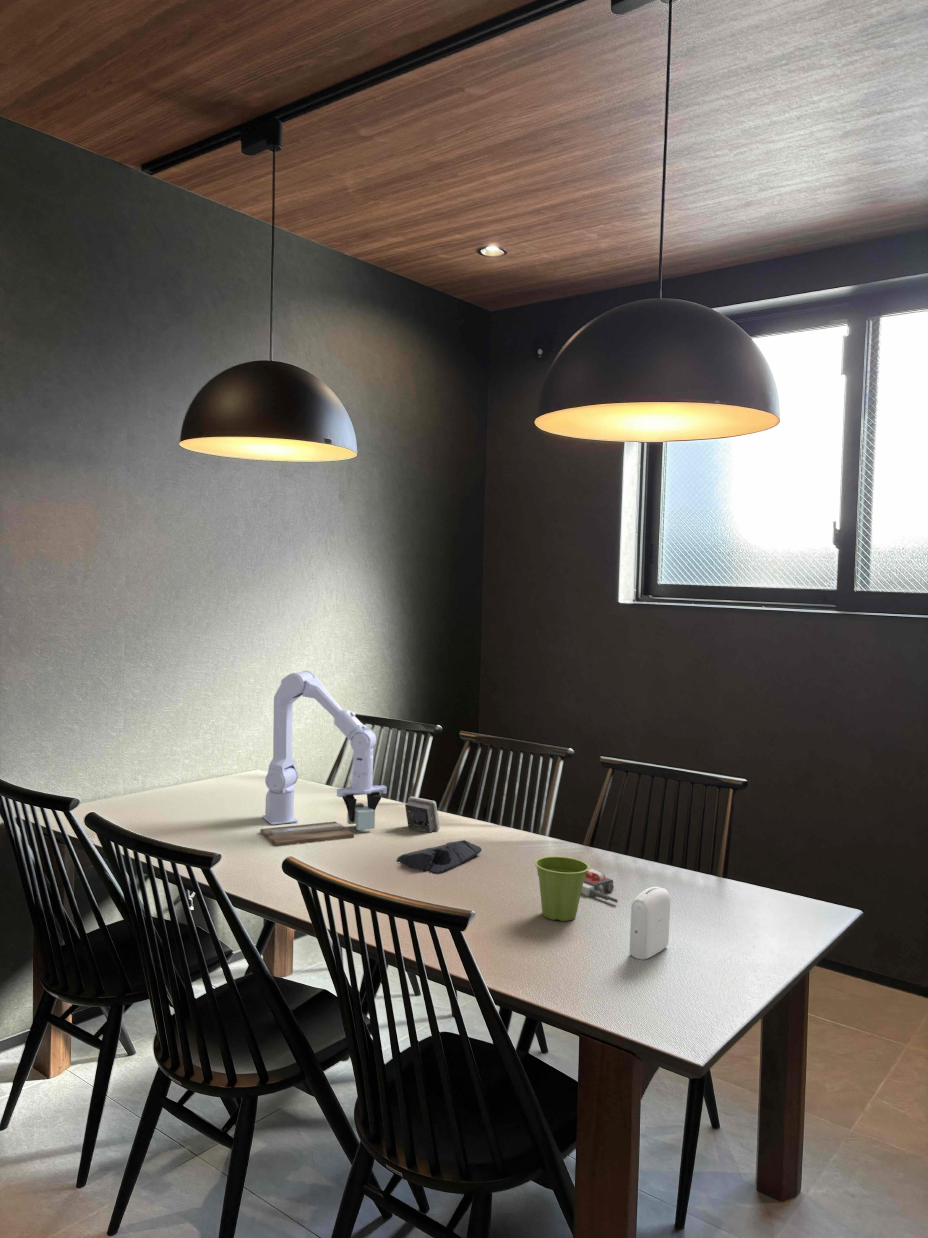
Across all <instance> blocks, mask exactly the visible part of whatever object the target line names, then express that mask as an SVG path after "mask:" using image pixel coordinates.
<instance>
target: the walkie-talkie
mask: <svg viewBox="0 0 928 1238" xmlns="http://www.w3.org/2000/svg"><path fill="white" fill-rule="evenodd" d="M614 887H615V885H614V880H613V879H611V878H608V877H606V876H605V873H604V872H603V871H602V872H601V871H599V870H596V869H593V868H590V869H589V870H588V871H587V873H586V877H585V880H584V882H583V886H582V891H581V894H582V895H583V896H586V897H590V896H591V897H592V896H593V897H598V898H601V899H603V900H604V901H605V900H606V901H611V902H613V903H618V901H619V900H618V898H614V897H612V896H610V895H607V894H605V893H608V892H609V893H611V892H612V891H614Z"/></svg>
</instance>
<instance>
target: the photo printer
mask: <svg viewBox="0 0 928 1238" xmlns="http://www.w3.org/2000/svg"><path fill="white" fill-rule="evenodd" d="M670 912H671V897H670V893H669V892H668V891H667V889H666V888H664V887H663V888H662V887H660V886H651V887H648V888H647V889H644V890H643V891H641V892H639V894H638V895H637V896H636V897H635V898H634V900H633V901H632V903H631V907H630V927H629V928H630V930H629V931H630V933H629V954H630V955H631V957H633V958H634V959H637V960H642V961H644V960H648V959H649V958H651V957H653V956H655V955H656V954H659V952H661V951H664V950H665V949H666V948H667V947H668V946H669V942H670V941H669V938H670V936H669V935H670Z"/></svg>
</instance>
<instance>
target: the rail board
mask: <svg viewBox="0 0 928 1238" xmlns="http://www.w3.org/2000/svg"><path fill="white" fill-rule="evenodd" d="M259 830H260V834H261V835H262V836H264V837H265V838H266V839H267V840H268V841H269V842H270V843H272V844H273V845H274V846H275V847H279V846H280V847H281V846H289V845H290V844H291V845H297V843H300V844H306V843H305V842H309V843H316V842H315V841H318V842H325V840H327V841H336V840H342V839H343V840H345V839H352V838H355V834H354V833H353V832H352V831H350V830H348V829H347V828H346V827H344V825H343V824H341V823H340V822H339V823H338V822H337V821H329V822H328V821H327V822H318V823H308V824H299V825H297V824H296V825H287V826H278V827H268V828H267V827H266V828H260V829H259ZM334 839H335V840H334Z"/></svg>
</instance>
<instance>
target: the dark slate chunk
mask: <svg viewBox="0 0 928 1238" xmlns="http://www.w3.org/2000/svg"><path fill="white" fill-rule="evenodd" d="M481 852H482V848H481V846H478V845H476V844H475V843H472V842H470V841H467V840H466V839H464V840H463V839H462V840H459V841H458V840H457V841H450V842H447V843H445V844H441V845H438V846H434V847H428V848H423V849H418V850H416V851H415V850H414V851H411V852H408V853H404V854H403V853H402V854H401V855H400V856H398V857H397V858H396V861H397V860H398V861H397V862H400V863H402V864H401V865H403V864H405V865H404V866H407V865H408V866H407V867H408V868H410V867H412V868H411V869H413V868H414V870H417V869H418V870H417V871H421V870H422V871H421V872H426V871H427V872H428V871H429V872H428V873H431V872H432V873H435V874H438V873H440V874H442V873H444V872H446V871H448V870H451V869H454V868H456V867H459V865H461V864H464V863H466V862H467V861H469V860H471V859H474V857H475V856H477V855H479V854H481ZM400 863H399V864H400Z"/></svg>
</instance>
